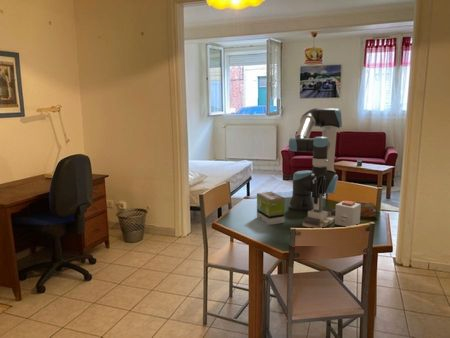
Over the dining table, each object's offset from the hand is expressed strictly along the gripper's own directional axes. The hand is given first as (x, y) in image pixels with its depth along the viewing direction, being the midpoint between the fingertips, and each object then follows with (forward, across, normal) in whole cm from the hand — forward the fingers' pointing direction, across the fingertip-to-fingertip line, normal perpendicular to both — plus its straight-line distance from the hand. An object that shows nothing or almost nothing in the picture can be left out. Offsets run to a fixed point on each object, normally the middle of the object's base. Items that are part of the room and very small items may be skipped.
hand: (317, 208), depth 210 cm
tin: (+9, +32, -13) cm, 36 cm away
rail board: (+9, +5, 0) cm, 10 cm away
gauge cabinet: (+9, +12, -12) cm, 19 cm away
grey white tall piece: (+7, 0, 0) cm, 7 cm away
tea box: (+9, -10, +24) cm, 28 cm away
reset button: (0, +12, -12) cm, 17 cm away
